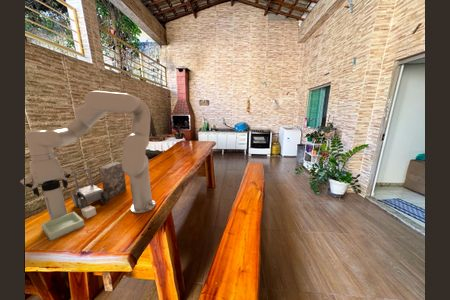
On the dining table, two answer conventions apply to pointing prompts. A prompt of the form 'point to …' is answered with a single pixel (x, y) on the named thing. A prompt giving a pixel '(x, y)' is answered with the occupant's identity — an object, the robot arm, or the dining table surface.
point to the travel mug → (54, 199)
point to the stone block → (113, 178)
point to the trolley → (88, 193)
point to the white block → (88, 211)
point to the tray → (62, 225)
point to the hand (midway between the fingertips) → (52, 191)
